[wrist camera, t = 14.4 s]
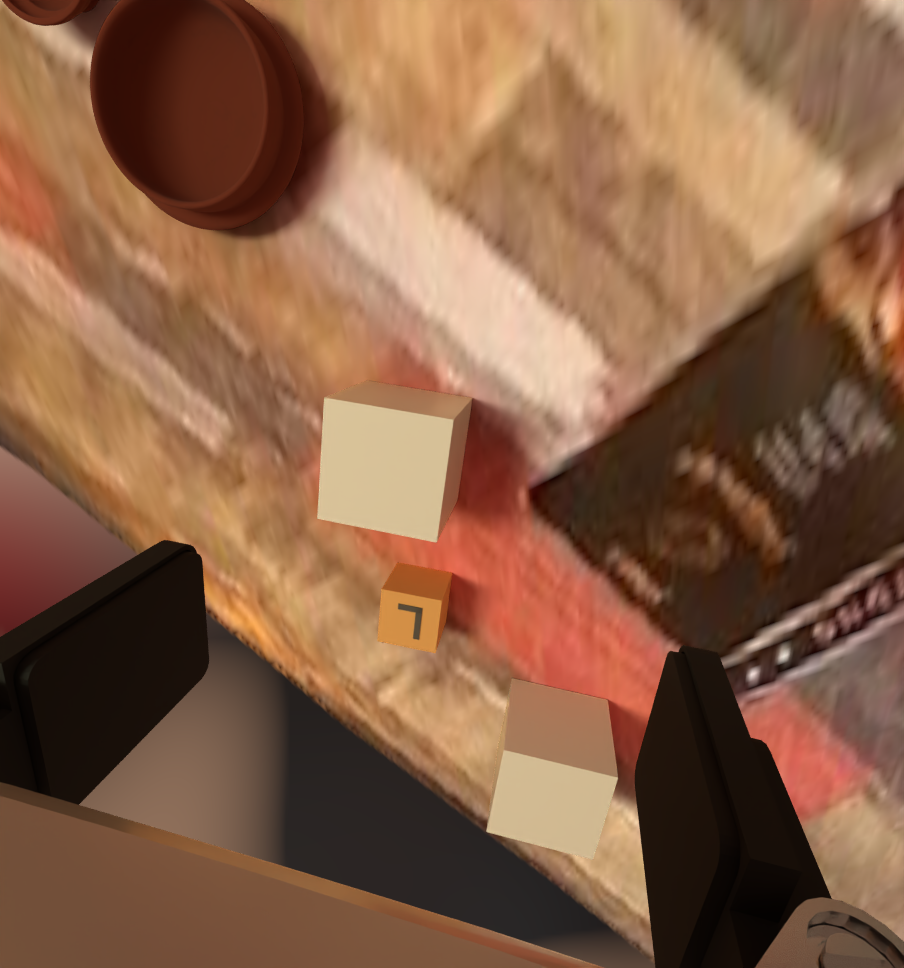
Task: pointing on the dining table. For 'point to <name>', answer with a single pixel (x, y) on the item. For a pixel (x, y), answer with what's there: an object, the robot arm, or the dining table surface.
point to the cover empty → (553, 769)
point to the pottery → (192, 103)
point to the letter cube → (414, 607)
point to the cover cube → (392, 458)
